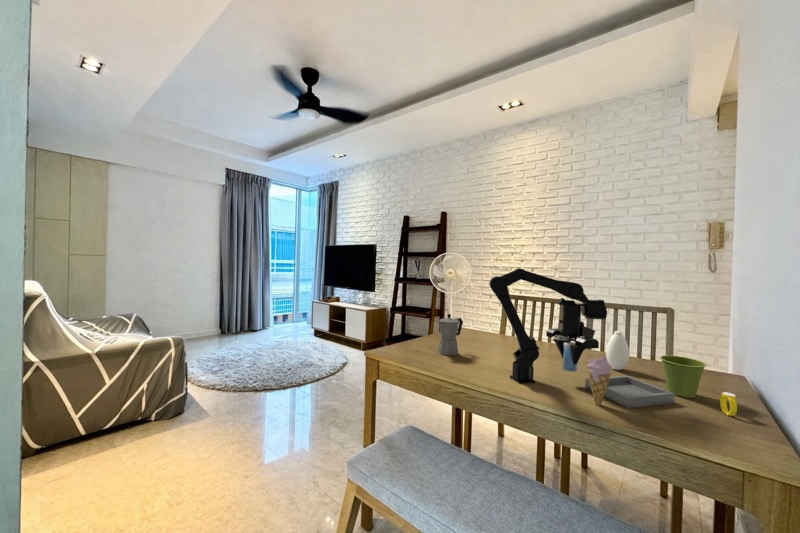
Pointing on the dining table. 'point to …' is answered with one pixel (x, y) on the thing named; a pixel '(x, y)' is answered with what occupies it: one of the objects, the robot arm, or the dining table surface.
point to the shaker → (568, 358)
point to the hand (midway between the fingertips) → (570, 362)
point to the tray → (634, 392)
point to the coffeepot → (449, 335)
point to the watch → (732, 403)
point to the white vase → (617, 351)
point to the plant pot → (682, 375)
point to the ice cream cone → (599, 377)
